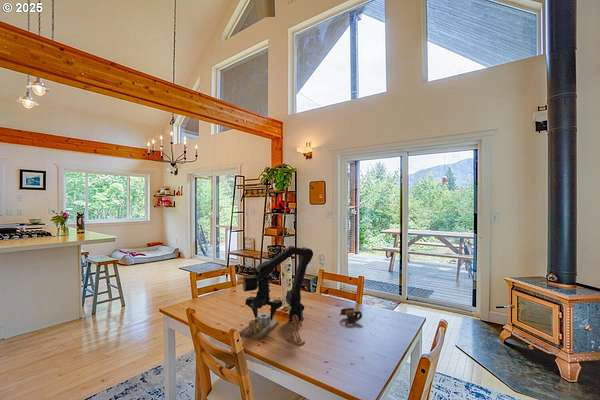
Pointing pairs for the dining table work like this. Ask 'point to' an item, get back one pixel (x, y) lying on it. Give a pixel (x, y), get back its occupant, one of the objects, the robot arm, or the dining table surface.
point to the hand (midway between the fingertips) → (263, 319)
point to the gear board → (260, 334)
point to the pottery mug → (351, 315)
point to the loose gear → (264, 318)
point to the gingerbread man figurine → (292, 338)
